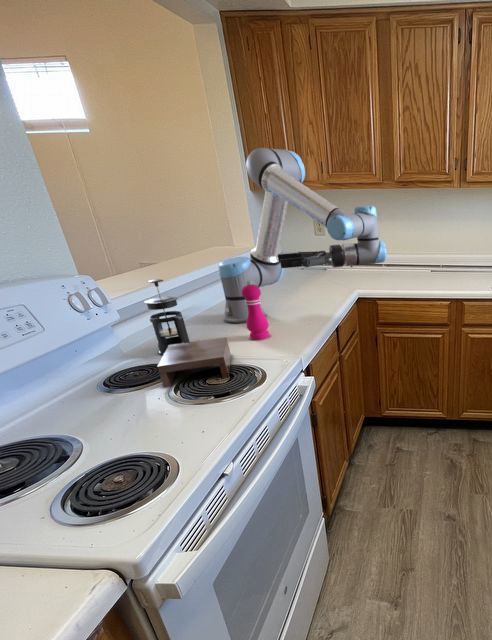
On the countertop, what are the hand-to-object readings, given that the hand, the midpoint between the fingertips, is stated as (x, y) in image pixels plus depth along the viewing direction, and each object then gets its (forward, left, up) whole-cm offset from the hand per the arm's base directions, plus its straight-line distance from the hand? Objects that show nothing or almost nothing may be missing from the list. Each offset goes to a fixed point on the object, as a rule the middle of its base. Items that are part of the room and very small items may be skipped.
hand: (279, 261), depth 139 cm
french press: (+2, -37, -25) cm, 45 cm away
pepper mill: (0, -11, -25) cm, 28 cm away
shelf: (+24, -28, -25) cm, 44 cm away
